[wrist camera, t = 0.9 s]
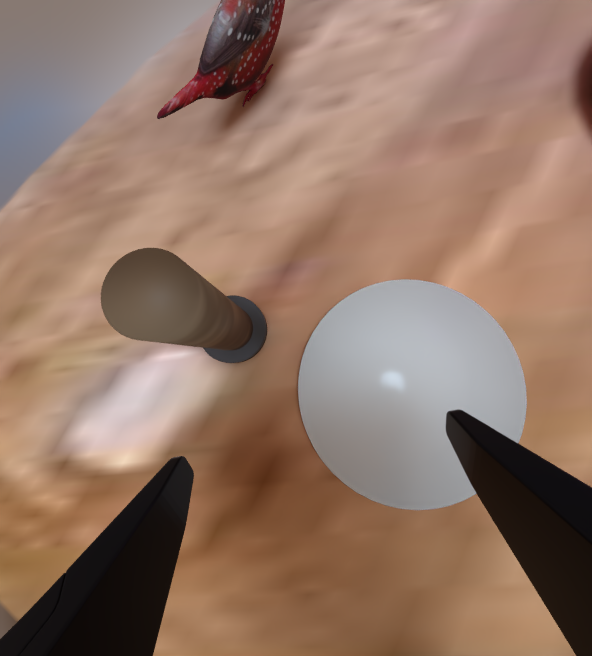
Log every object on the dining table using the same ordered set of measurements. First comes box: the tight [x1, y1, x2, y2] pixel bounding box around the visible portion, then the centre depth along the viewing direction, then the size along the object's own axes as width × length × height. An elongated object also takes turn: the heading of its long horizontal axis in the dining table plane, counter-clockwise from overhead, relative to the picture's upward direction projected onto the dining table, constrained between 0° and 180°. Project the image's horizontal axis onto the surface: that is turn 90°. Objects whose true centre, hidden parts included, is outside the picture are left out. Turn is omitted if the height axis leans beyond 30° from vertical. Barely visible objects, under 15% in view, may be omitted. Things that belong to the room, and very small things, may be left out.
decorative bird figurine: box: [157, 0, 285, 119], centre depth 20 cm, size 3×18×10 cm, turn 147°
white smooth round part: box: [298, 279, 527, 510], centre depth 21 cm, size 18×18×1 cm
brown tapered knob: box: [101, 248, 267, 363], centre depth 16 cm, size 6×6×13 cm
